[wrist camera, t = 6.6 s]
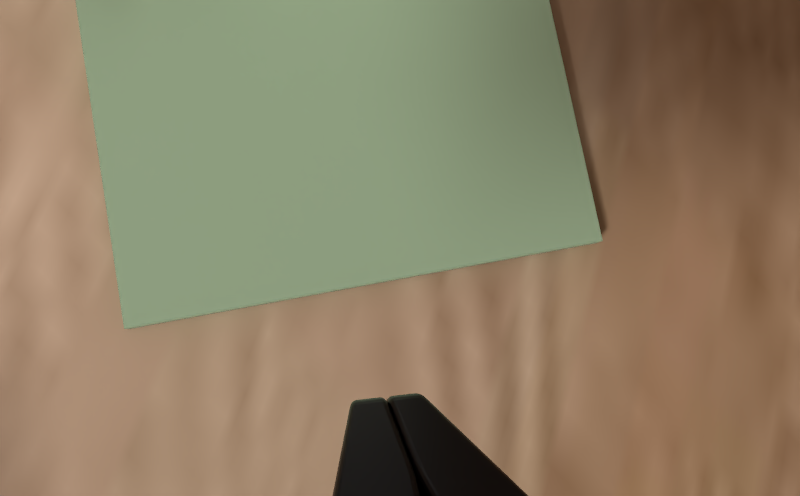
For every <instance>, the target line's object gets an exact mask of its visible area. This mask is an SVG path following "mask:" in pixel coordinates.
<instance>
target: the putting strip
mask: <svg viewBox="0 0 800 496" xmlns="http://www.w3.org/2000/svg"><path fill="white" fill-rule="evenodd" d="M76 7H77V14H78V21H79V27H80V34H81V41H82V48H83V54H84V61H85V68H86V74H87V81H88V88H89V95H90V101H91V108H92V115H93V122H94V128H95V135H96V142H97V149H98V155H99V162H100V169H101V175H102V182H103V189H104V196H105V202H106V209H107V216H108V223H109V229H110V236H111V243H112V250H113V256H114V263H115V270H116V277H117V283H118V290H119V297H120V303H121V310H122V317H123V324H124V329H131V328H137V327H142V326H148V325H153V324H159V323H164V322H169V321H175V320H180V319H186V318H191V317H197V316H202V315H207V314H213V313H218V312H224V311H229V310H235V309H240V308H246V307H251V306H256V305H262V304H267V303H273V302H278V301H284V300H289V299H294V298H300V297H305V296H311V295H316V294H322V293H327V292H332V291H338V290H343V289H349V288H354V287H360V286H365V285H371V284H376V283H381V282H387V281H392V280H398V279H403V278H409V277H414V276H419V275H425V274H430V273H436V272H441V271H447V270H452V269H457V268H463V267H468V266H474V265H479V264H485V263H490V262H496V261H501V260H506V259H512V258H517V257H523V256H528V255H534V254H539V253H544V252H550V251H555V250H561V249H566V248H572V247H577V246H583V245H588V244H593V243H598V242H601V241H603V240H602V236H601V231H600V227H599V222H598V218H597V213H596V209H595V204H594V200H593V195H592V191H591V186H590V182H589V177H588V173H587V168H586V164H585V159H584V155H583V150H582V146H581V141H580V137H579V132H578V128H577V123H576V119H575V114H574V110H573V105H572V101H571V96H570V92H569V87H568V83H567V78H566V74H565V69H564V65H563V60H562V56H561V51H560V47H559V42H558V38H557V33H556V29H555V24H554V20H553V15H552V11H551V6H550V2H549V0H76Z"/></svg>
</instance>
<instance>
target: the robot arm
mask: <svg viewBox="0 0 800 496" xmlns="http://www.w3.org/2000/svg"><path fill="white" fill-rule="evenodd" d="M333 496H528V495H527V494H526V493H525V492H524V491H523V490H522V489H520V488H519V487H518V486H517V485H516V484H515V483H514V482H513V481H512V480H511V479H510V478H509V477H508V476H507V475H506V474H505V473H504V472H503V471H502V470H501V469H500V468H498V467H497V466H496V465H495V464H494V463H493V462H492V461H491V460H490V459H489V458H488V457H487V456H486V455H485V454H484V453H483V452H482V451H481V450H480V449H479V448H478V447H477V446H475V445H474V444H473V443H472V442H471V441H470V440H469V439H468V438H467V437H466V436H465V435H464V434H463V433H462V432H461V431H460V430H459V429H458V428H457V427H456V426H455V425H453V424H452V423H451V422H450V421H449V420H448V419H447V418H446V417H445V416H444V415H443V414H442V413H441V412H440V411H439V410H438V409H437V408H436V407H435V406H434V405H433V404H432V403H430V402H429V401H428V400H427V399H426V398H425V397H424V396H422V395H420V394H417V393H415V394H406V395H397V396H391V397H389V398H388V399H387V401H386V400H385V399H384V398H380V397H379V398H371V399H362V400H355V401H353V402H352V404H351V406H350V410H349V415H348V420H347V425H346V430H345V435H344V441H343V446H342V451H341V456H340V461H339V466H338V471H337V476H336V481H335V486H334V491H333Z"/></svg>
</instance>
